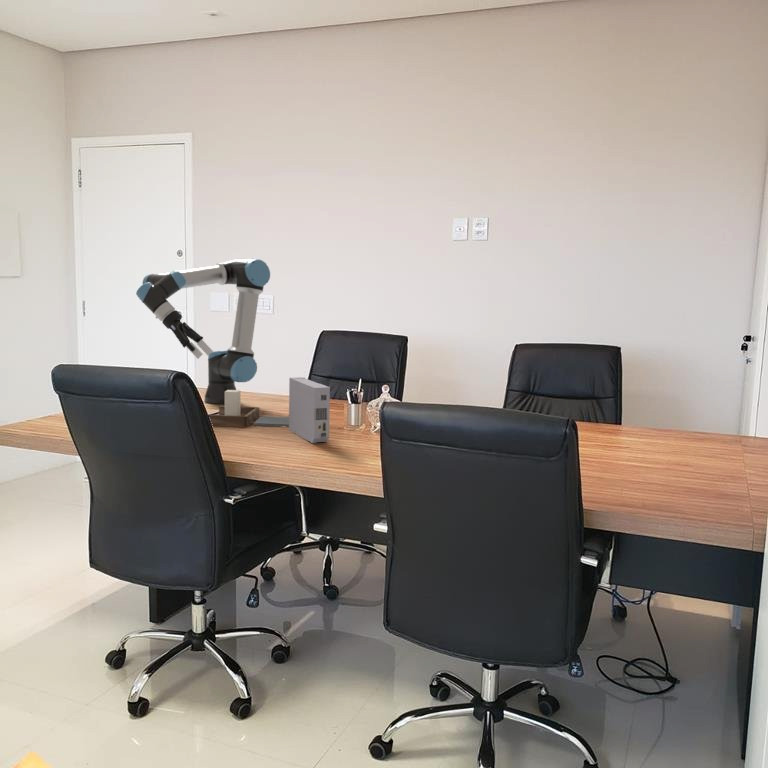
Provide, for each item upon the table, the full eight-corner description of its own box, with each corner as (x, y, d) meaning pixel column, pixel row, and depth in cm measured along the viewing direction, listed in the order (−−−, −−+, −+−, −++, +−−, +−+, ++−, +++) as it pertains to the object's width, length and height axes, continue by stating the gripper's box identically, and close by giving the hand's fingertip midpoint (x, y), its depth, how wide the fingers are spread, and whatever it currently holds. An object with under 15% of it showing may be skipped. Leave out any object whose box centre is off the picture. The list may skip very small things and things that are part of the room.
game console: (303, 429, 292) (304, 377, 289) (329, 444, 268) (330, 387, 265) (288, 430, 290) (289, 377, 287) (313, 445, 265) (314, 387, 263)
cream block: (227, 419, 307) (227, 389, 305) (240, 420, 307) (240, 390, 305) (224, 422, 302) (224, 391, 300) (237, 422, 302) (237, 392, 300)
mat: (261, 418, 311) (261, 416, 311) (296, 419, 310) (296, 417, 310) (253, 425, 296) (253, 423, 296) (289, 427, 296) (289, 424, 295)
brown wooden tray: (219, 415, 315) (219, 405, 315) (259, 417, 314) (259, 407, 314) (204, 425, 294) (204, 415, 294) (246, 426, 293) (246, 416, 293)
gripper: (172, 320, 321) (208, 358, 322) (150, 323, 296) (189, 364, 297) (185, 308, 320) (220, 346, 321) (164, 310, 295) (202, 351, 296)
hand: (205, 354), depth 309 cm, fingers open, 13 cm apart
